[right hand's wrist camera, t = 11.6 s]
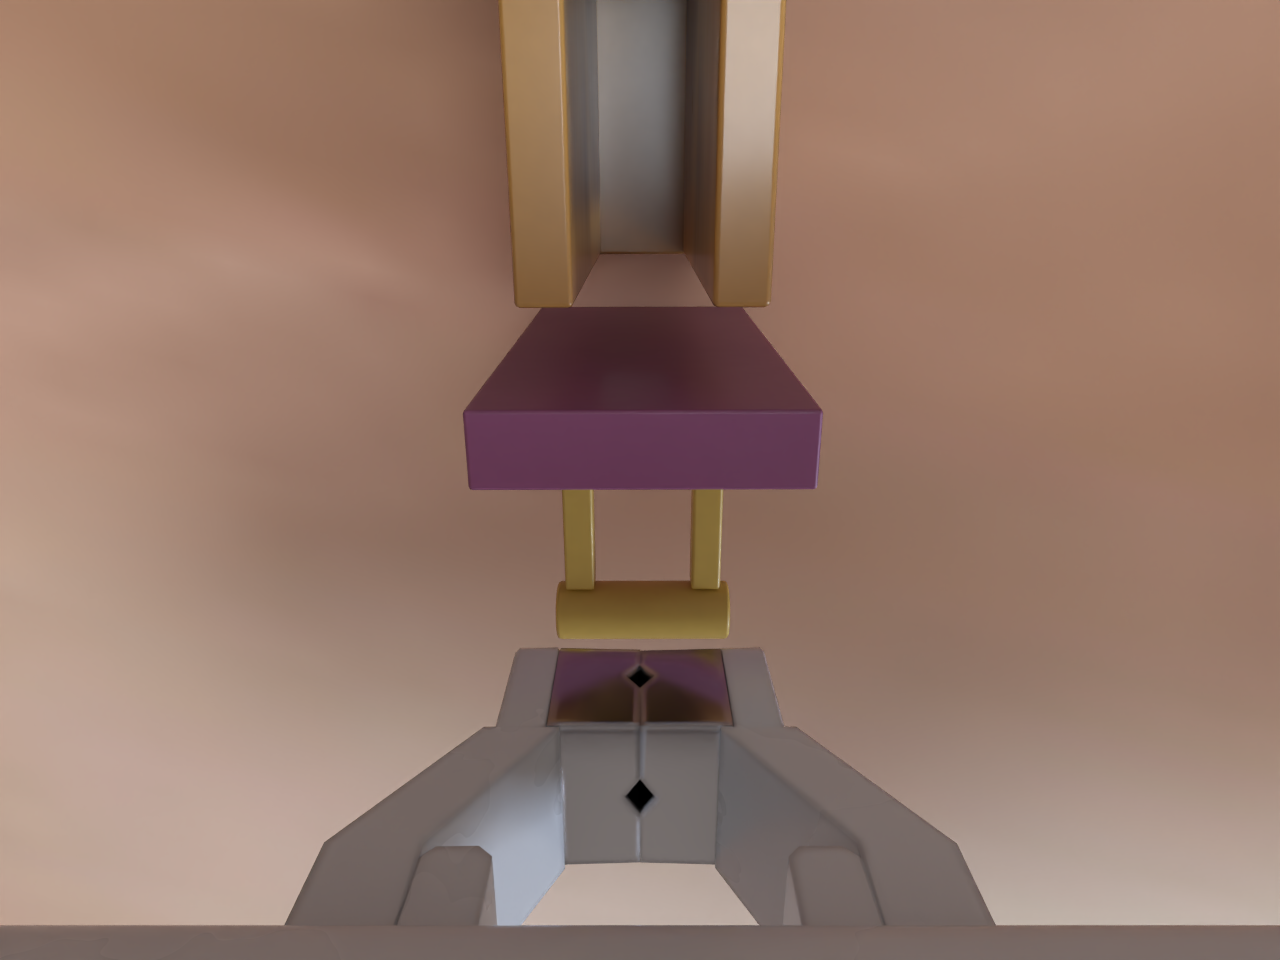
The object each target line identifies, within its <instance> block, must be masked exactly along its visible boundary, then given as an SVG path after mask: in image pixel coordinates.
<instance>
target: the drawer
mask: <svg viewBox="0 0 1280 960" xmlns="http://www.w3.org/2000/svg"><path fill="white" fill-rule="evenodd" d="M498 10H499V29H500V47H501V65H502V84H503V102H504V120H505V138H506V157H507V175H508V193H509V212H510V230H511V248H512V266H513V285H514V303H515V305H516V306H517V307H519V308H542V309H541V310H540V311H539V313H538V314H537V315H536V316H535V318H534V319H533V320H532V322H531V323H530V324H529V326H528V327H527V328H526V330H525V331H524V332H523V334H522V335H521V336H520V338H519V339H518V340H517V342H516V343H515V344H514V345H513V347H512V348H511V349H510V351H509V352H508V353H507V355H506V356H505V357H504V359H503V360H502V361H501V363H500V364H499V365H498V367H497V368H496V369H495V371H494V372H493V373H492V375H491V376H490V377H489V378H488V380H487V381H486V382H485V384H484V385H483V386H482V388H481V389H480V390H479V392H478V393H477V394H476V396H475V397H474V398H473V400H472V401H471V402H470V404H469V405H468V406H467V407H466V409H465V410H464V412H463V421H464V434H465V446H466V459H467V471H468V484H469V488H470V489H471V490H562V503H563V529H564V556H565V581H561V582H559V584H558V587H557V594H556V630H557V635H558V637H559V638H561V639H724V638H727V637H728V634H729V628H730V598H729V589H728V585H727V583H726V582H725V581H720V568H721V539H722V510H723V489H816V487H817V484H818V471H819V458H820V445H821V432H822V419H823V412H822V409H821V408H820V407H819V406H818V404H817V403H816V402H815V400H814V399H813V398H812V397H811V395H810V394H809V393H808V391H807V390H806V389H805V388H804V386H803V385H802V384H801V382H800V381H799V380H798V379H797V377H796V376H795V375H794V373H793V372H792V371H791V370H790V368H789V367H788V366H787V364H786V363H785V362H784V361H783V359H782V358H781V357H780V355H779V354H778V353H777V352H776V350H775V349H774V348H773V346H772V345H771V344H770V343H769V341H768V340H767V339H766V337H765V336H764V335H763V334H762V332H761V331H760V330H759V328H758V327H757V326H756V325H755V323H754V322H753V321H752V319H751V318H750V317H749V316H748V314H747V313H746V312H745V310H744V309H743V308H742V307H766V306H768V305H769V304H770V301H771V287H772V268H773V249H774V229H775V210H776V190H777V171H778V152H779V132H780V113H781V93H782V74H783V55H784V35H785V16H786V0H498ZM600 254H685V255H686V257H687V259H688V261H689V262H690V264H691V266H692V268H693V269H694V271H695V273H696V275H697V277H698V278H699V280H700V282H701V284H702V285H703V287H704V289H705V291H706V292H707V294H708V296H709V298H710V299H711V301H712V303H713V305H714V306H717V307H571V306H572V305H573V303H574V301H575V299H576V297H577V295H578V294H579V292H580V290H581V288H582V286H583V284H584V282H585V281H586V279H587V277H588V275H589V273H590V271H591V269H592V268H593V266H594V264H595V262H596V260H597V258H598V256H599V255H600ZM660 489H692V491H691V540H690V581H595V579H596V564H595V522H594V490H660Z"/></svg>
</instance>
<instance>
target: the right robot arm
mask: <svg viewBox="0 0 1280 960" xmlns="http://www.w3.org/2000/svg"><path fill="white" fill-rule="evenodd" d="M629 862H649V863H684V864H715V868H716V869H717V871H718V872H719V873H720V875H721V876H722V877H723V879H724V880H725V881H726V882H727V884H728V885H729V886H730V888H731V889H732V890H733V891H734V893H735V894H736V895H737V897H738V898H739V899H740V901H741V902H742V903H743V904H744V906H745V907H746V908H747V910H748V911H749V912H750V913H751V915H752V916H753V917H754V919H755V920H756V921H757V923H758V924H759V925H521V924H522V923H523V922H524V921H525V919H526V918H527V917H528V915H529V914H530V913H531V912H532V910H533V909H534V908H535V906H536V905H537V904H538V903H539V901H540V900H541V899H542V897H543V896H544V895H545V894H546V892H547V891H548V890H549V888H550V887H551V886H552V885H553V883H554V882H555V881H556V879H557V878H558V877H559V876H560V874H561V873H562V872H563V870H564V869H565V864H594V863H629ZM0 960H1280V926H1270V925H995V923H994V921H993V919H992V916H991V914H990V912H989V910H988V908H987V906H986V904H985V902H984V900H983V898H982V895H981V893H980V891H979V889H978V887H977V885H976V883H975V881H974V879H973V877H972V874H971V872H970V870H969V868H968V866H967V864H966V862H965V860H964V858H963V856H962V853H961V851H960V849H959V847H958V845H957V843H955V842H954V841H952V840H951V839H950V838H948V837H947V836H946V835H944V834H943V833H941V832H940V831H939V830H937V829H936V828H935V827H933V826H932V825H930V824H929V823H928V822H926V821H925V820H924V819H922V818H921V817H919V816H918V815H917V814H915V813H914V812H913V811H911V810H910V809H908V808H907V807H906V806H904V805H903V804H902V803H900V802H899V801H897V800H896V799H895V798H893V797H892V796H891V795H889V794H888V793H886V792H885V791H884V790H882V789H881V788H880V787H878V786H877V785H875V784H874V783H873V782H871V781H870V780H869V779H867V778H866V777H864V776H863V775H862V774H860V773H859V772H858V771H856V770H855V769H853V768H852V767H851V766H849V765H848V764H847V763H845V762H844V761H842V760H841V759H840V758H838V757H837V756H836V755H834V754H833V753H831V752H830V751H829V750H827V749H826V748H825V747H823V746H822V745H820V744H819V743H818V742H816V741H815V740H814V739H812V738H811V737H809V736H808V735H807V734H805V733H804V732H803V731H801V730H800V729H798V728H797V727H784V724H783V720H782V716H781V713H780V709H779V705H778V702H777V698H776V694H775V690H774V687H773V683H772V679H771V676H770V672H769V668H768V664H767V661H766V657H765V653H764V651H763V650H762V649H761V648H760V647H754V648H729V649H691V650H651V651H640V650H627V649H576V648H561V649H560V650H559V649H558V648H520V649H519V650H518V651H517V652H516V653H515V656H514V660H513V664H512V667H511V671H510V675H509V679H508V682H507V686H506V690H505V694H504V698H503V701H502V705H501V709H500V713H499V716H498V720H497V724H496V727H483V728H482V729H480V730H479V731H478V732H476V733H475V734H473V735H472V736H471V737H469V738H468V739H466V740H465V741H464V742H462V743H461V744H460V745H458V746H457V747H455V748H454V749H453V750H451V751H450V752H449V753H447V754H446V755H444V756H443V757H442V758H440V759H439V760H437V761H436V762H435V763H433V764H432V765H431V766H429V767H428V768H426V769H425V770H424V771H422V772H421V773H420V774H418V775H417V776H415V777H414V778H413V779H411V780H410V781H408V782H407V783H406V784H404V785H403V786H402V787H400V788H399V789H397V790H396V791H395V792H393V793H392V794H390V795H389V796H388V797H386V798H385V799H384V800H382V801H381V802H379V803H378V804H377V805H375V806H374V807H373V808H371V809H370V810H368V811H367V812H366V813H364V814H363V815H361V816H360V817H359V818H357V819H356V820H355V821H353V822H352V823H350V824H349V825H348V826H346V827H345V828H344V829H342V830H341V831H339V832H338V833H337V834H335V835H334V836H332V837H331V838H330V839H328V840H327V841H326V842H324V844H323V846H322V848H321V850H320V852H319V854H318V856H317V858H316V861H315V863H314V865H313V867H312V869H311V871H310V873H309V875H308V877H307V879H306V881H305V883H304V885H303V888H302V890H301V892H300V894H299V896H298V898H297V900H296V902H295V904H294V906H293V908H292V910H291V912H290V914H289V917H288V919H287V921H286V923H285V925H0Z"/></svg>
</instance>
